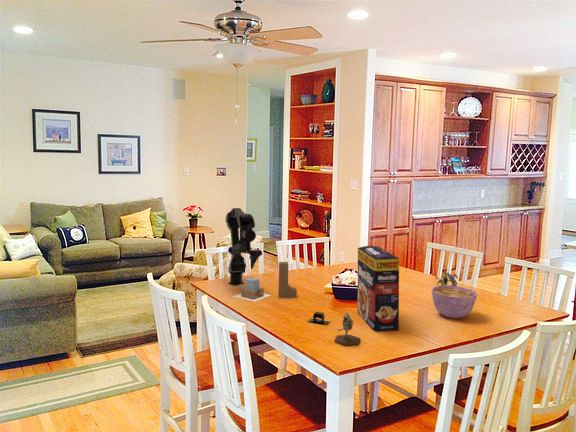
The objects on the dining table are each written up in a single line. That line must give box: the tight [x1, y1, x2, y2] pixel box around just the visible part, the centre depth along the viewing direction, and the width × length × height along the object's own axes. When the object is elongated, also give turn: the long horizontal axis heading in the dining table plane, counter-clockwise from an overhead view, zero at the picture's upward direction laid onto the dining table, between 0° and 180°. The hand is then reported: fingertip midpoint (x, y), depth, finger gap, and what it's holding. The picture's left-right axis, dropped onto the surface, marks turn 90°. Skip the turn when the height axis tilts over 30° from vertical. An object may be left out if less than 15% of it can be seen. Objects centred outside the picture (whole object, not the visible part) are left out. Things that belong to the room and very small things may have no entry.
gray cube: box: [244, 277, 260, 291], centre depth 252 cm, size 5×5×5 cm
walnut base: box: [240, 287, 265, 300], centre depth 252 cm, size 8×8×4 cm
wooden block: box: [277, 261, 298, 299], centre depth 253 cm, size 9×4×18 cm, turn 95°
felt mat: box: [232, 293, 271, 302], centre depth 254 cm, size 14×14×1 cm
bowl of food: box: [431, 285, 478, 319], centre depth 229 cm, size 20×20×12 cm
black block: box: [306, 311, 331, 326], centre depth 217 cm, size 12×7×5 cm, turn 65°
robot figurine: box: [333, 312, 361, 347], centre depth 194 cm, size 11×9×12 cm
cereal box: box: [357, 245, 400, 332], centre depth 217 cm, size 27×11×32 cm, turn 8°
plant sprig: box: [435, 270, 459, 286], centre depth 278 cm, size 11×11×12 cm
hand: (244, 267), depth 262 cm, fingers open, 9 cm apart
